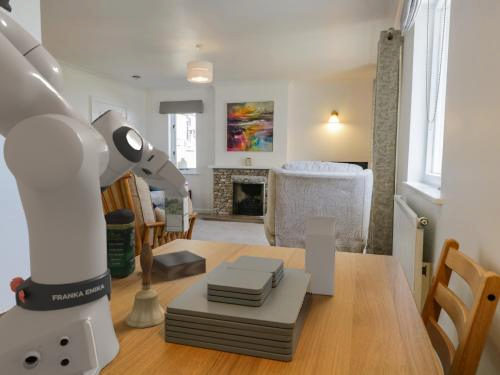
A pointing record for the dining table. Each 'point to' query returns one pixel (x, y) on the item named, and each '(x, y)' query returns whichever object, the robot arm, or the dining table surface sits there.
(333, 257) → the milk carton
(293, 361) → the dining table surface
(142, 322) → the hand bell
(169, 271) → the podium
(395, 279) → the dining table surface
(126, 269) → the coffee jar
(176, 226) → the syrup box
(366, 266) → the dining table surface
